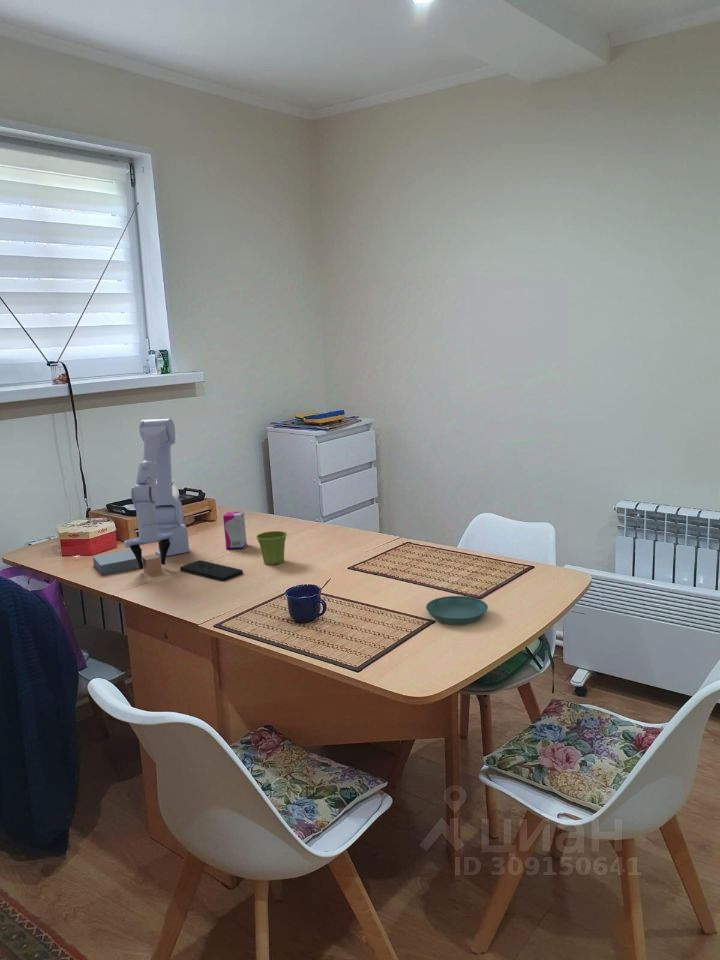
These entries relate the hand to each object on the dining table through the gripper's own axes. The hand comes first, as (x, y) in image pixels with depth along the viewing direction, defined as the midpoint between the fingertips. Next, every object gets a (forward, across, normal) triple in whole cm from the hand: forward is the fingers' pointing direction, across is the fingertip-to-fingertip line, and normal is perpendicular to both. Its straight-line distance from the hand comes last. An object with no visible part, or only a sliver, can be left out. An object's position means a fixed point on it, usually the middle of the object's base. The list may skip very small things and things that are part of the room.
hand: (152, 566), depth 230 cm
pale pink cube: (+2, 0, 0) cm, 2 cm away
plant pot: (+2, +33, -16) cm, 37 cm away
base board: (+1, -8, +12) cm, 14 cm away
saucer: (+2, +51, -85) cm, 99 cm away
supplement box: (+2, +30, +8) cm, 31 cm away
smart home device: (+2, +14, -13) cm, 19 cm away
